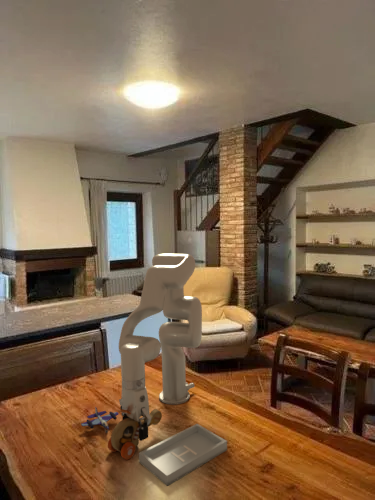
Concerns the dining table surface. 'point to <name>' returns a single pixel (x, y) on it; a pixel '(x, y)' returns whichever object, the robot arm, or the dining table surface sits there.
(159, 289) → the robot arm
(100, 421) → the toy airplane
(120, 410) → the toy helicopter
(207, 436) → the tray
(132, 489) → the dining table surface
